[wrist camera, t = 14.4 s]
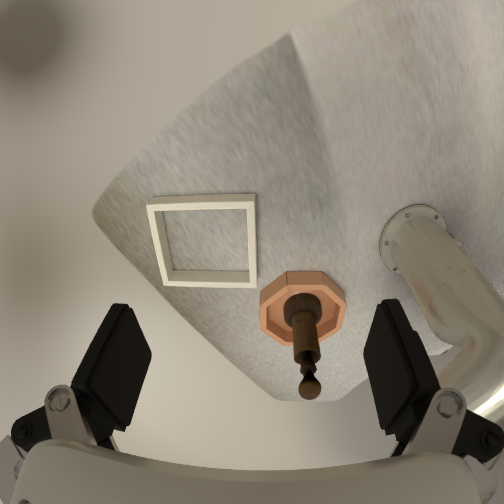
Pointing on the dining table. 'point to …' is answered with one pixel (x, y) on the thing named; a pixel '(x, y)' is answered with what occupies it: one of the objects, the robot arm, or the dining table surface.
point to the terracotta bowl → (295, 284)
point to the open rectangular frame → (203, 277)
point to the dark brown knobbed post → (305, 339)
